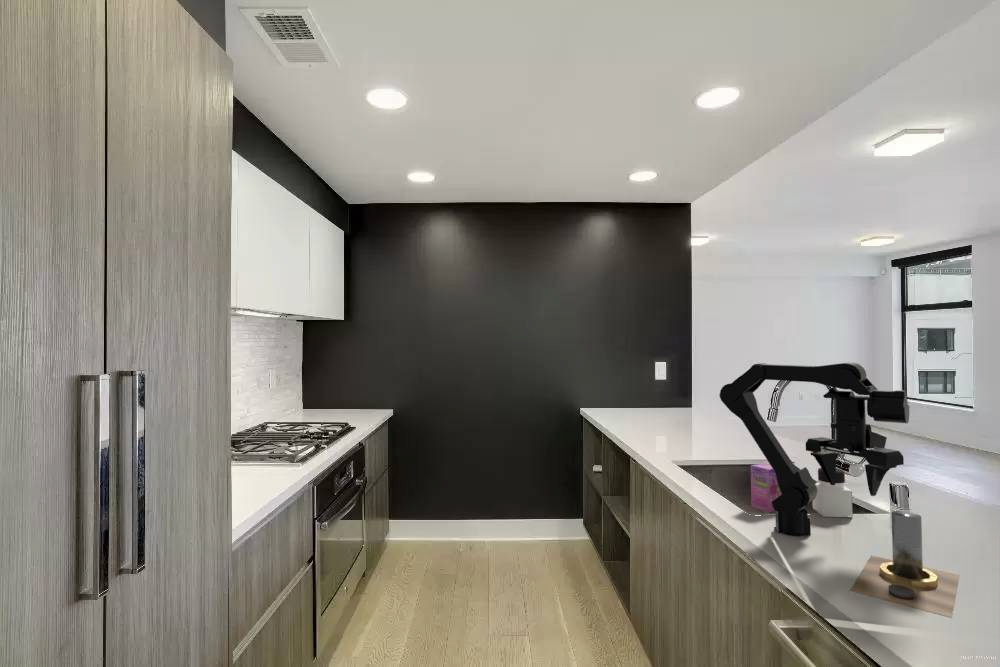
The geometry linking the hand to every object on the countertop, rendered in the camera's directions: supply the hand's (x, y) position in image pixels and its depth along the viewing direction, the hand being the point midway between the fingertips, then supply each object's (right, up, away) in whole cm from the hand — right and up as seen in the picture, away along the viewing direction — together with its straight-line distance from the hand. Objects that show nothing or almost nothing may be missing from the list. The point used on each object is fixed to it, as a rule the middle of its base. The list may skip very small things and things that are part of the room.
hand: (852, 490), depth 115 cm
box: (-2, -14, +30) cm, 33 cm away
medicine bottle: (+11, -14, +24) cm, 29 cm away
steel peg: (0, -12, -16) cm, 20 cm away
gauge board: (-2, -13, -18) cm, 22 cm away
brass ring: (0, -12, -16) cm, 20 cm away
